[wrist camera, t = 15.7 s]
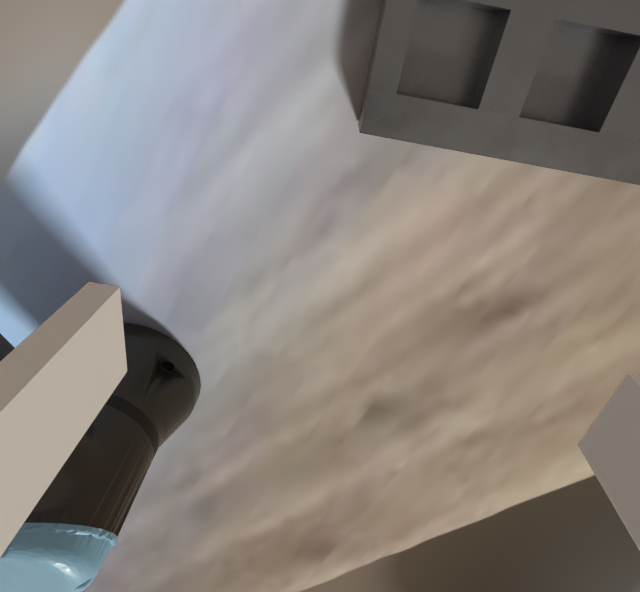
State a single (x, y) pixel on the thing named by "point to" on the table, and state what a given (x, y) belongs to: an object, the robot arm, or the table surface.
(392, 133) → the grey slotted block
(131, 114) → the table surface
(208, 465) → the table surface
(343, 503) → the table surface
